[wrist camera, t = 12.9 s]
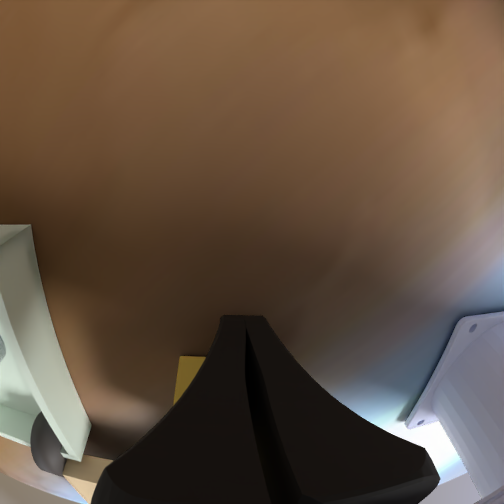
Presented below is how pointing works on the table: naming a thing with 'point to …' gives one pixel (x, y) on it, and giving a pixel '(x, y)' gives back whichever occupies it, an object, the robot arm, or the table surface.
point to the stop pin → (2, 349)
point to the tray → (33, 353)
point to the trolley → (64, 460)
